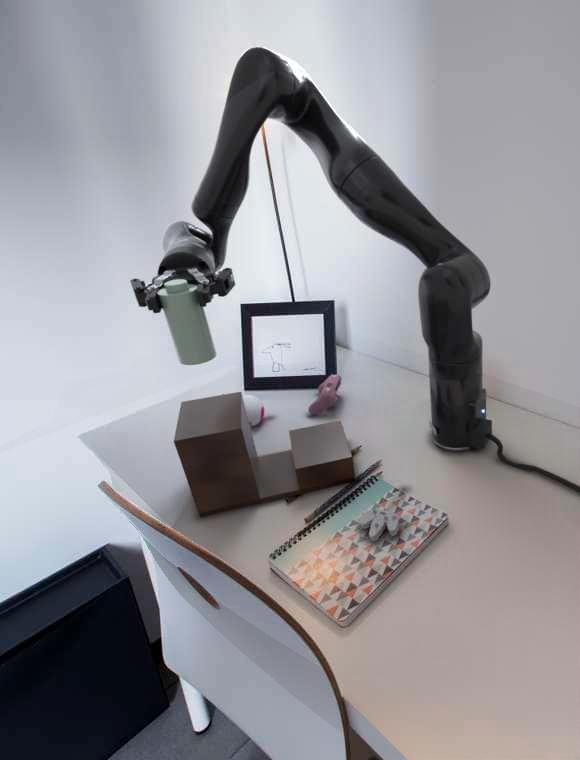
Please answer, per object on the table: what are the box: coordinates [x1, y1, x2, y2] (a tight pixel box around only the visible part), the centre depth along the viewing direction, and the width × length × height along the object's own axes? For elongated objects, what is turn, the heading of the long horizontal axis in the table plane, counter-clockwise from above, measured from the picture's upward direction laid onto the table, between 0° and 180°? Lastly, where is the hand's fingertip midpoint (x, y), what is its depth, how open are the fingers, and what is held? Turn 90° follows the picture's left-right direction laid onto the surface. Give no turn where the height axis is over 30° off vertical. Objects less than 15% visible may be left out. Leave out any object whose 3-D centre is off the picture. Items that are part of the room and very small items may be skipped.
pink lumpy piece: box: [308, 373, 343, 415], centre depth 109 cm, size 10×5×7 cm, turn 179°
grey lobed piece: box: [359, 487, 405, 543], centre depth 79 cm, size 6×12×3 cm, turn 0°
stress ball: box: [242, 394, 270, 427], centre depth 104 cm, size 8×8×7 cm
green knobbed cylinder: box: [157, 279, 217, 366], centre depth 73 cm, size 5×5×11 cm
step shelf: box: [173, 391, 357, 518], centre depth 85 cm, size 24×12×14 cm, turn 109°
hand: (178, 302), depth 69 cm, fingers closed on green knobbed cylinder, 5 cm apart
